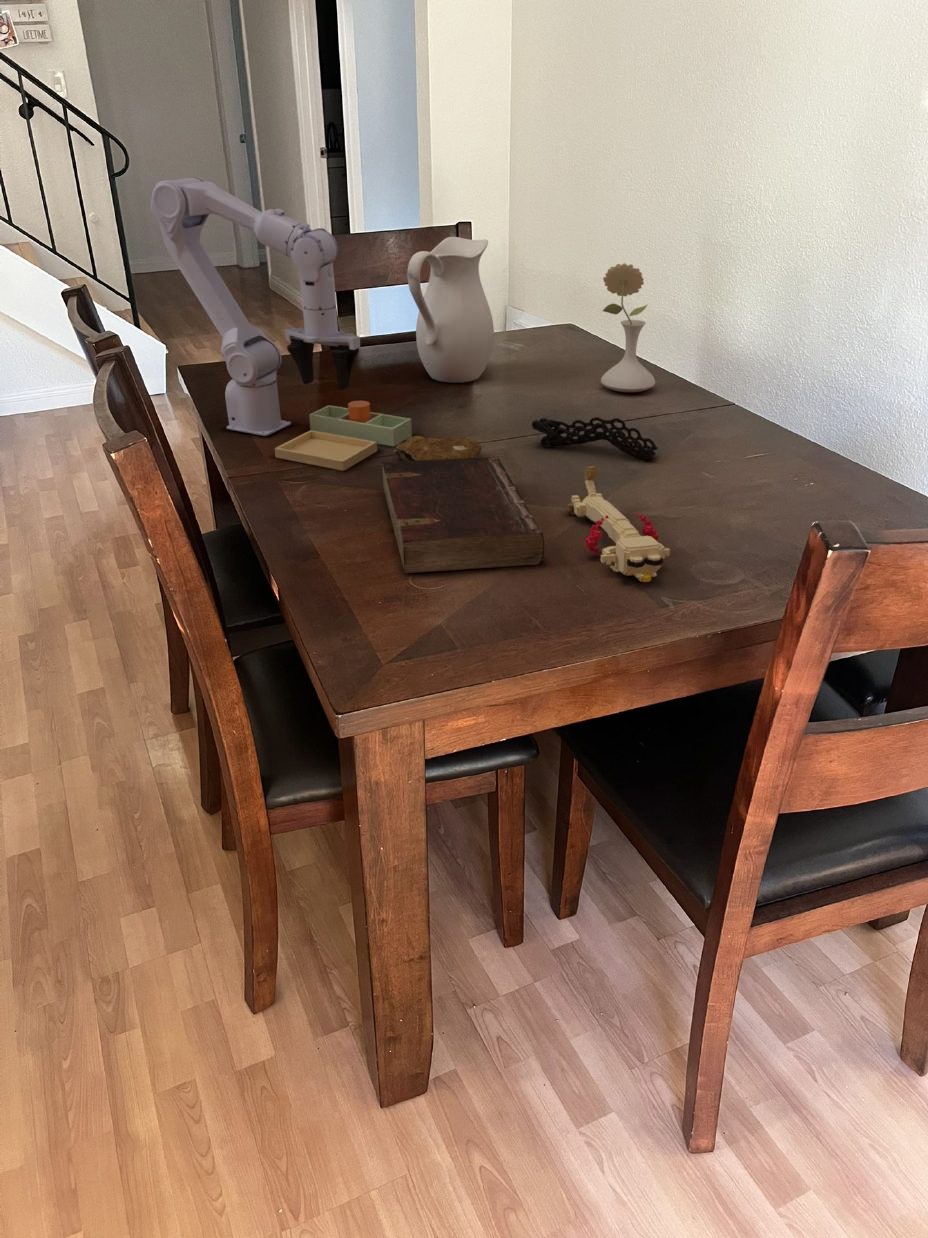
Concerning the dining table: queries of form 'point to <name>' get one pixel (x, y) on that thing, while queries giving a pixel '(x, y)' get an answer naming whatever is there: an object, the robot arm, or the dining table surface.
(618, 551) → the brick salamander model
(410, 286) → the pitcher
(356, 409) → the orange cylinder
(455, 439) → the decorative rock
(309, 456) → the birch tray
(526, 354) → the dining table surface
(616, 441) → the decorative element
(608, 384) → the flower in vase
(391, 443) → the green compartment tray
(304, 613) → the dining table surface
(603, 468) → the dining table surface
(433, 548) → the hardback book
